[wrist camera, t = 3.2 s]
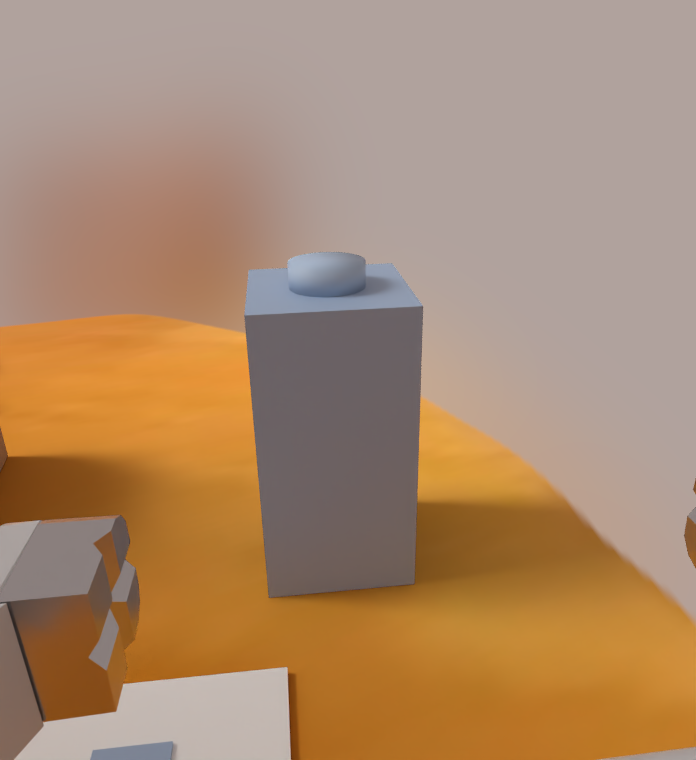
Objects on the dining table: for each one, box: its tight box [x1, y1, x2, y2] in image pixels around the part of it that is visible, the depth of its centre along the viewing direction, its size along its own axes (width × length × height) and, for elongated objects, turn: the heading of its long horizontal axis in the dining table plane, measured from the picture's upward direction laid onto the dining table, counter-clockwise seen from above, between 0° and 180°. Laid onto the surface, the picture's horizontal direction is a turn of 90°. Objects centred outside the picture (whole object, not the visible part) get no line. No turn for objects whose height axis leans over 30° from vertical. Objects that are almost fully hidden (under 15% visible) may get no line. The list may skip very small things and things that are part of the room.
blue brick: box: [244, 252, 423, 598], centre depth 22 cm, size 5×5×11 cm
